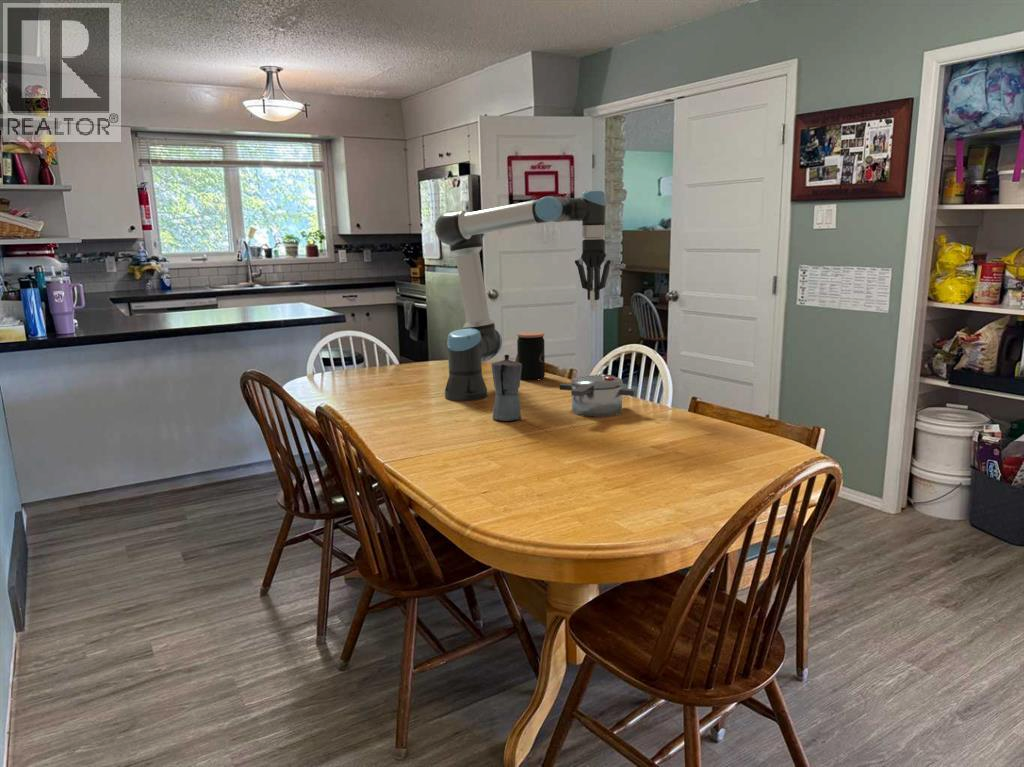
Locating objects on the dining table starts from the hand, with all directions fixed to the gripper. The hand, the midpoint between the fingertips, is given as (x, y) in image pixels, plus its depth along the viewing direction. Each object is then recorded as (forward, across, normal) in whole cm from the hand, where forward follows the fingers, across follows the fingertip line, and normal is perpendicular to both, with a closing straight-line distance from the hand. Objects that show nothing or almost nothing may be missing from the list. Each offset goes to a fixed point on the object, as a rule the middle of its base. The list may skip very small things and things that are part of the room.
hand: (593, 309), depth 236 cm
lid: (+22, -8, +22) cm, 32 cm away
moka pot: (+31, +14, +38) cm, 51 cm away
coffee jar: (+31, +34, -21) cm, 50 cm away
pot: (+30, -8, +17) cm, 36 cm away
